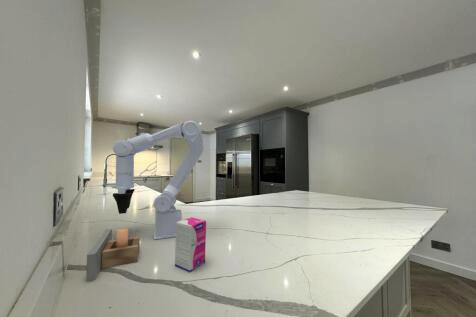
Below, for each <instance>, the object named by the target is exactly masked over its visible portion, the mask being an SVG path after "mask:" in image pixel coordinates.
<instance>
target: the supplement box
mask: <svg viewBox="0 0 476 317" xmlns="http://www.w3.org/2000/svg"><path fill="white" fill-rule="evenodd" d="M206 235H207V220H205V219H200V218H197V217H189V218H185V219H182V220H181V221H178V222H176V236H175V248H174V252H175V253H174V266H175V267H176V268H179V269H180V270H183V271H185V272H188V273H191V272H192V271H194V270H195V269H197V268H199V267H200V266H202V265H203V264H205V263H206V243H207V241H206V240H207V238H206V237H207V236H206Z"/></svg>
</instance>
